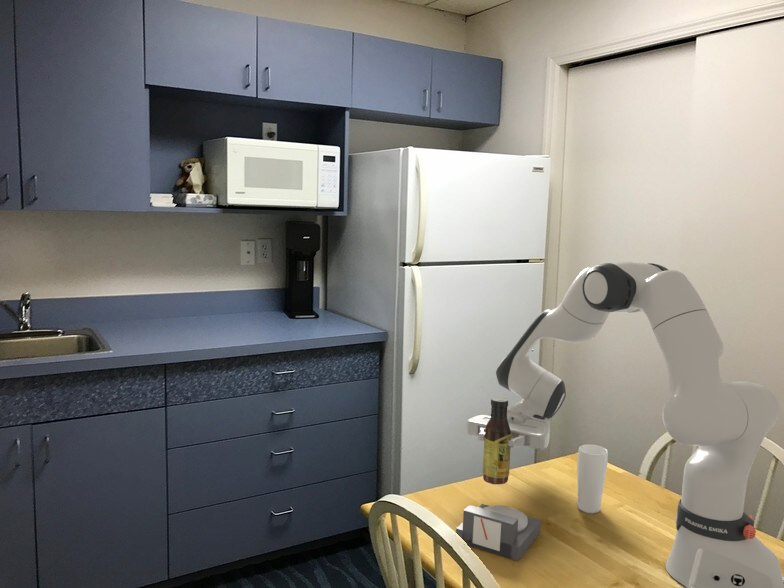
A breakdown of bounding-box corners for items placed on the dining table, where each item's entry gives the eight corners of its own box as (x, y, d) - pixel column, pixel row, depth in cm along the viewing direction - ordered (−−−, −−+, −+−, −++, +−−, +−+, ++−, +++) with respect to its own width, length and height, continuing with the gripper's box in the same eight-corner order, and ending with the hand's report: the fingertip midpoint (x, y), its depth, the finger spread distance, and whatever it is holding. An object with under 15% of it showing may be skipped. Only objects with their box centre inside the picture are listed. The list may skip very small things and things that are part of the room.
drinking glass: (600, 504, 164) (604, 445, 162) (606, 516, 157) (611, 455, 155) (571, 501, 165) (576, 443, 163) (576, 514, 158) (581, 453, 156)
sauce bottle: (501, 488, 156) (504, 405, 153) (477, 481, 160) (480, 400, 157) (514, 479, 161) (517, 399, 159) (491, 472, 165) (493, 394, 162)
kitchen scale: (540, 533, 149) (542, 500, 148) (517, 561, 136) (519, 527, 135) (481, 516, 156) (483, 485, 155) (454, 542, 143) (456, 509, 142)
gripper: (479, 405, 175) (456, 419, 163) (556, 420, 165) (538, 436, 153) (478, 429, 176) (455, 444, 164) (554, 444, 166) (536, 462, 154)
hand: (495, 440), depth 158 cm, fingers closed on sauce bottle, 6 cm apart
